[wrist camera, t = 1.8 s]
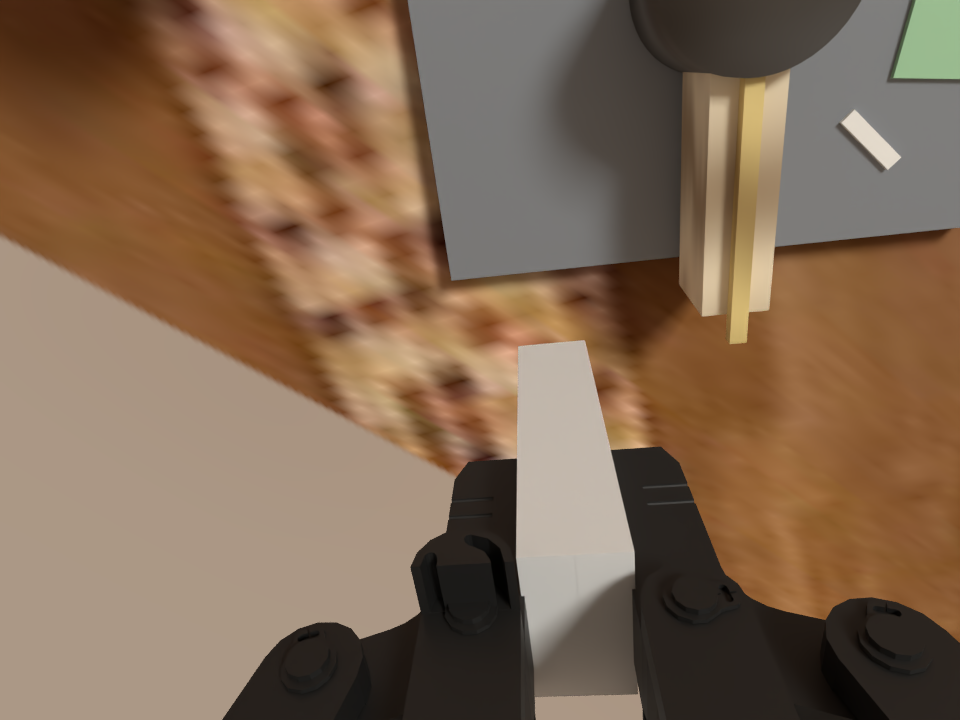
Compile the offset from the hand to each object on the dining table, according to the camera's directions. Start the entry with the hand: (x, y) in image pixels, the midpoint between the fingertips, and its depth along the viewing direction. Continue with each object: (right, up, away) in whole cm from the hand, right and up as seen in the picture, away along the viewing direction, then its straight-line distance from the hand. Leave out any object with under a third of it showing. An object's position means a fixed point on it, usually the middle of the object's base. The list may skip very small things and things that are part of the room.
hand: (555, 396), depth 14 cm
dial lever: (+7, +10, +9) cm, 15 cm away
